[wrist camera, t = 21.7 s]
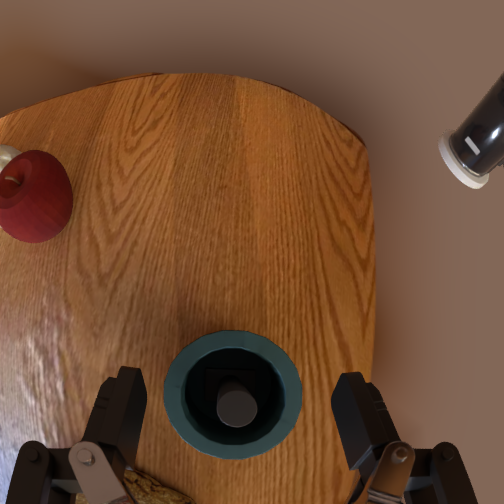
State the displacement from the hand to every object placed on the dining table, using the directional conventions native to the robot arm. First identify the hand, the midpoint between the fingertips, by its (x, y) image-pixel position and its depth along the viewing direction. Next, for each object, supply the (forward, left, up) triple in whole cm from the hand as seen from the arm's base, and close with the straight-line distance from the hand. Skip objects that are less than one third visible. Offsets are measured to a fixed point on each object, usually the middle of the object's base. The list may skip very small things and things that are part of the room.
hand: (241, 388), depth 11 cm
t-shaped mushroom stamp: (0, +1, -16) cm, 16 cm away
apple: (+22, -15, -17) cm, 31 cm away
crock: (0, +1, -16) cm, 17 cm away
